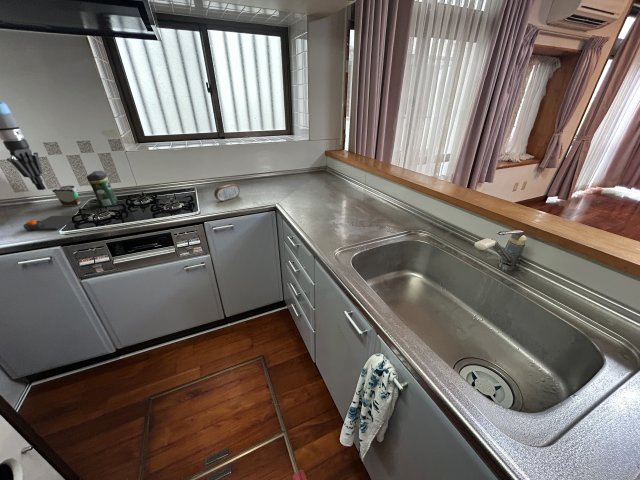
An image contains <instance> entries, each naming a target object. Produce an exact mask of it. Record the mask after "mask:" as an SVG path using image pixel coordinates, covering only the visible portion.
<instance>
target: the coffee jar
mask: <svg viewBox="0 0 640 480" xmlns="http://www.w3.org/2000/svg"><path fill="white" fill-rule="evenodd" d="M108 177H109V176H108V175H107V173H106V172H105V171H103V170H95V171H93V172H91V173H89V174H88V175H87V176H86V179H87V182H88V183H89V185H90V187H91V189H92V191H93V193H94V195H95V198H96V200H97V202H98V205H99V207H102V208H103V207H104V208H107V207H111V206H115V205H116V204H117V203H118V198H117V196H116V194H115V192H114V190H113V188H112V185H111V182H110V180H109V178H108Z"/></svg>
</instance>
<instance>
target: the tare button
mask: <svg viewBox="0 0 640 480" xmlns="http://www.w3.org/2000/svg"><path fill="white" fill-rule="evenodd" d="M36 221H37V220H36V219H29V220H26V221H25V224H26V223H27V225H34V224H36V223H37V222H36Z"/></svg>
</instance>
